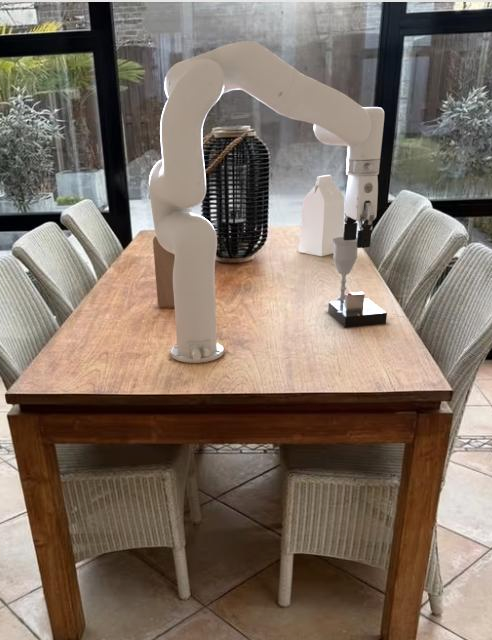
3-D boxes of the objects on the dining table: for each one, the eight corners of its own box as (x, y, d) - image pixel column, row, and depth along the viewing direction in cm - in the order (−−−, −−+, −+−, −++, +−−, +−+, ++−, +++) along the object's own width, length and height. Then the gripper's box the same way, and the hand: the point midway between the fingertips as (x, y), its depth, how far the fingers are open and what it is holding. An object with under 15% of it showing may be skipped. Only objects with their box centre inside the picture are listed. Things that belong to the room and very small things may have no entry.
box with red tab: (360, 309, 171) (362, 290, 169) (363, 311, 170) (364, 292, 167) (343, 310, 171) (345, 292, 168) (346, 312, 169) (347, 294, 167)
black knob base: (386, 324, 169) (387, 312, 167) (341, 328, 168) (342, 316, 166) (366, 309, 181) (367, 297, 179) (324, 312, 180) (325, 301, 178)
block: (190, 308, 190) (186, 237, 179) (157, 308, 192) (151, 237, 181) (197, 299, 198) (194, 230, 188) (165, 299, 200) (160, 230, 190)
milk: (320, 246, 252) (323, 173, 239) (343, 250, 244) (348, 174, 231) (298, 251, 246) (300, 176, 233) (321, 256, 238) (325, 178, 225)
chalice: (325, 307, 184) (329, 241, 175) (332, 301, 189) (336, 236, 180) (351, 310, 181) (356, 242, 172) (358, 303, 186) (363, 237, 177)
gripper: (392, 170, 146) (384, 249, 154) (365, 163, 161) (358, 236, 169) (360, 171, 145) (353, 251, 154) (335, 165, 160) (330, 238, 169)
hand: (356, 243), depth 162 cm, fingers open, 9 cm apart
